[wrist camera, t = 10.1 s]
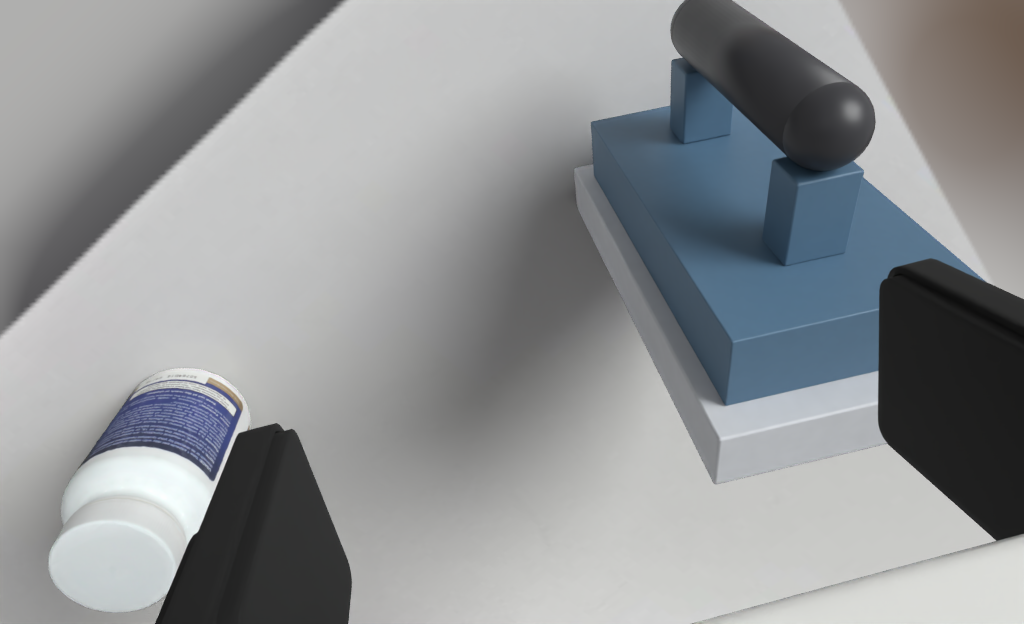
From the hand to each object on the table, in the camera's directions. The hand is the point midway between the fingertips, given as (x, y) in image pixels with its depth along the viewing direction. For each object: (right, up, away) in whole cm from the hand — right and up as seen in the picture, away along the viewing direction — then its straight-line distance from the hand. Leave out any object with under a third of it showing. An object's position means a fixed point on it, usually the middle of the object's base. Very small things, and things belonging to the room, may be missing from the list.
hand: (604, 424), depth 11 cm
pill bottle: (-16, -3, +21) cm, 27 cm away
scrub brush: (+7, +2, +14) cm, 16 cm away
